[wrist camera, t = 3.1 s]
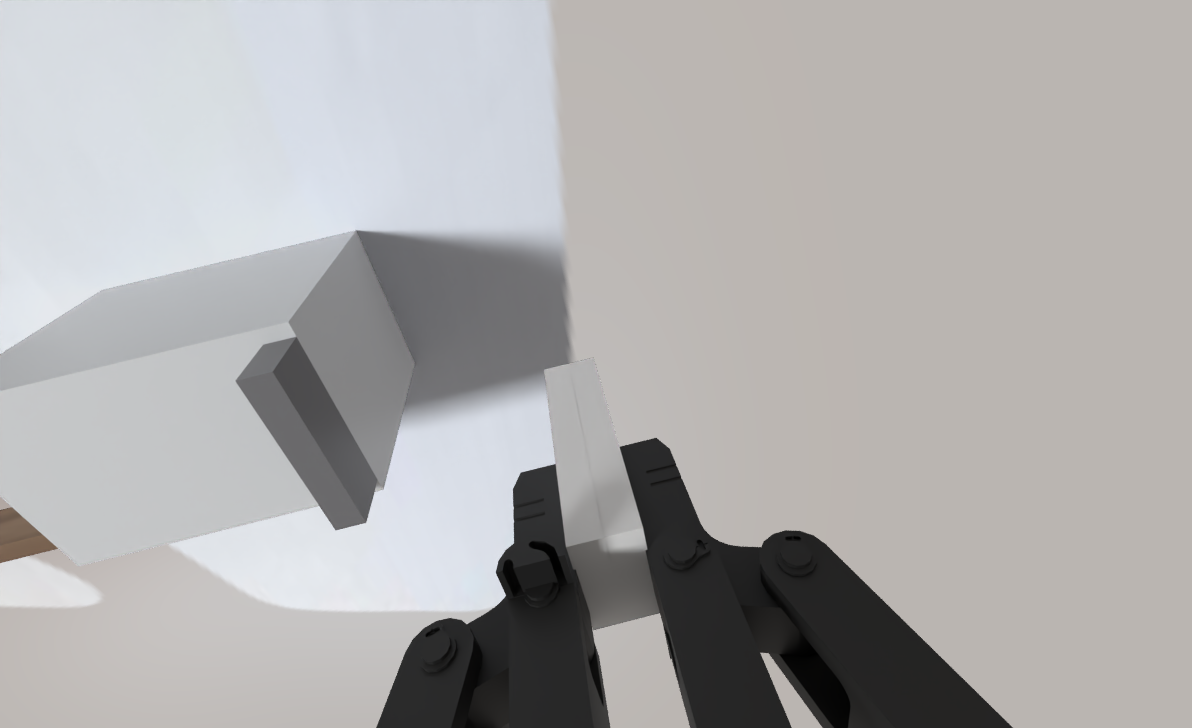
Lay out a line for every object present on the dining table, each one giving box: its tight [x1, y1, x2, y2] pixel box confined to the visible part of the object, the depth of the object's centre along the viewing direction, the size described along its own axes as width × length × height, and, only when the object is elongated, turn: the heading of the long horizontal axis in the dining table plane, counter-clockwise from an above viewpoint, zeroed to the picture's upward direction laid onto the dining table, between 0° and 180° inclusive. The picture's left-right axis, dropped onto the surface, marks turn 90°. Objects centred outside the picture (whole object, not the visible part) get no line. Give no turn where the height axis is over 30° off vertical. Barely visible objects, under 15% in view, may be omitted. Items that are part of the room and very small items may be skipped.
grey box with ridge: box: [0, 231, 415, 566], centre depth 20 cm, size 7×11×11 cm, turn 101°
